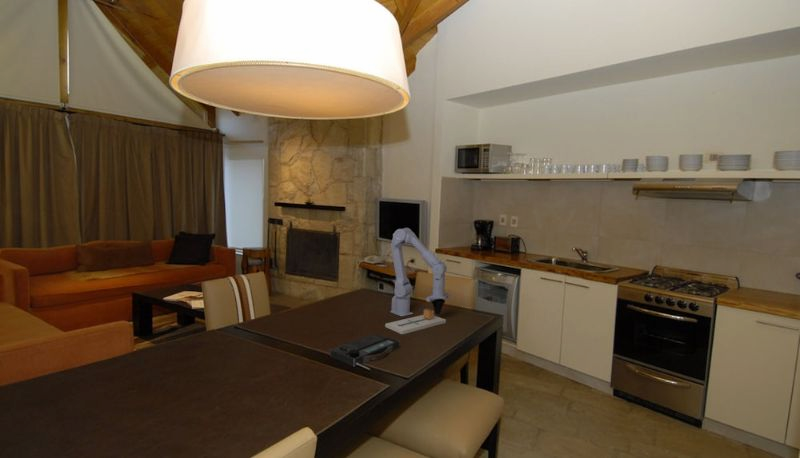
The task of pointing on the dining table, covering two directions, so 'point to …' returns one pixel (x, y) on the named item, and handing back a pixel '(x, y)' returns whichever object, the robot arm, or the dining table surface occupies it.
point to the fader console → (414, 324)
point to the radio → (364, 349)
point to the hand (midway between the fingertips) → (437, 313)
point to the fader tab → (428, 313)
